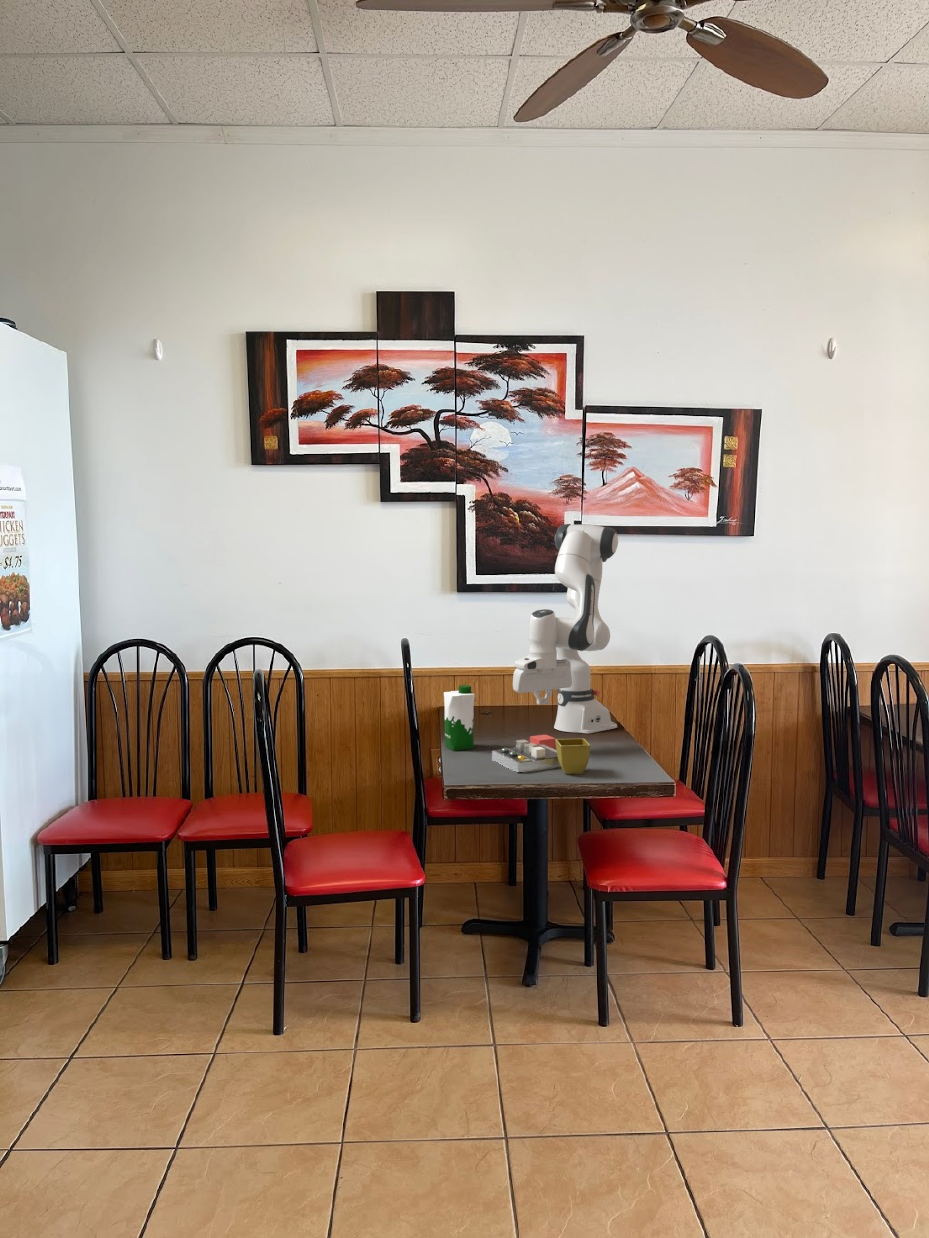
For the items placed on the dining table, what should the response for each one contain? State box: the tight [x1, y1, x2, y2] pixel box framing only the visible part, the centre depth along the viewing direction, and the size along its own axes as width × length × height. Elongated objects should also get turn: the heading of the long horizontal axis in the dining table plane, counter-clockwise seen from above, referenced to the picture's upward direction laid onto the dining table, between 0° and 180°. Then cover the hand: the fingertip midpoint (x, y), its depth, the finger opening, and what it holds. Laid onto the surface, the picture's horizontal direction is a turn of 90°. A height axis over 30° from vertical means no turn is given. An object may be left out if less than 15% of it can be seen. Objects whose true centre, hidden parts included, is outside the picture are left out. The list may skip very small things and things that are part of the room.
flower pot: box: [555, 738, 591, 775], centre depth 266 cm, size 9×9×9 cm
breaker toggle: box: [531, 747, 545, 758], centre depth 271 cm, size 3×3×2 cm
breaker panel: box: [491, 739, 561, 773], centre depth 276 cm, size 18×16×6 cm
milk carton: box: [443, 684, 476, 752], centre depth 294 cm, size 9×9×20 cm
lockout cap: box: [529, 734, 557, 750], centre depth 293 cm, size 6×6×4 cm
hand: (542, 703), depth 292 cm, fingers closed
